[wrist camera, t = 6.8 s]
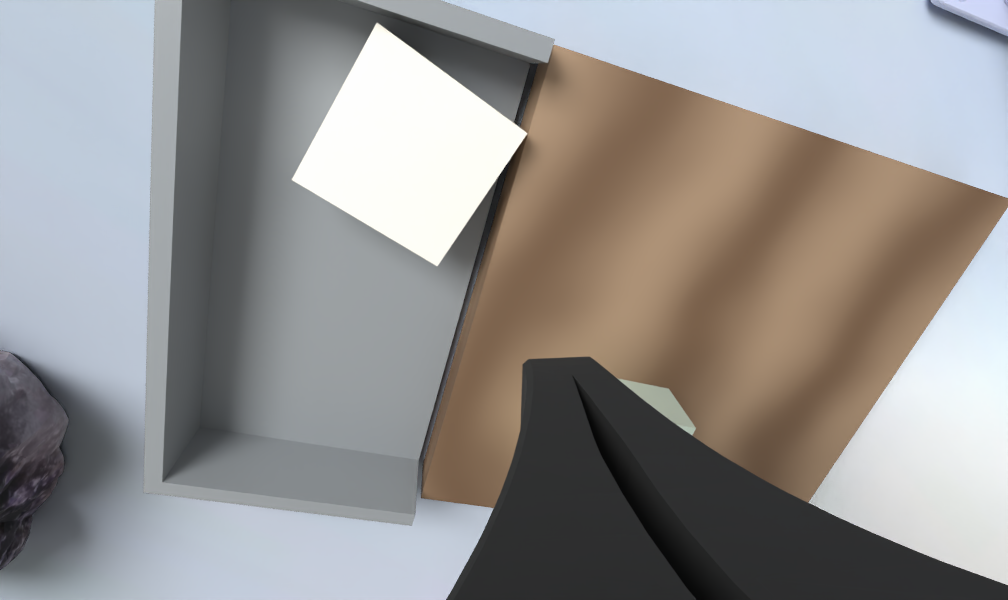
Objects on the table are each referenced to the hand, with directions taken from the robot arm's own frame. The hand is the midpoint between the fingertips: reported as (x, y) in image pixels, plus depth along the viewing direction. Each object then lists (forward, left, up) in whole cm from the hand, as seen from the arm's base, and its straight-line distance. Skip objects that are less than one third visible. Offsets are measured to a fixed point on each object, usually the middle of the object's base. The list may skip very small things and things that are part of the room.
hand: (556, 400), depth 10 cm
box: (+6, +2, -10) cm, 12 cm away
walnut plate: (-8, +2, -10) cm, 14 cm away
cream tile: (+4, -3, -10) cm, 11 cm away
